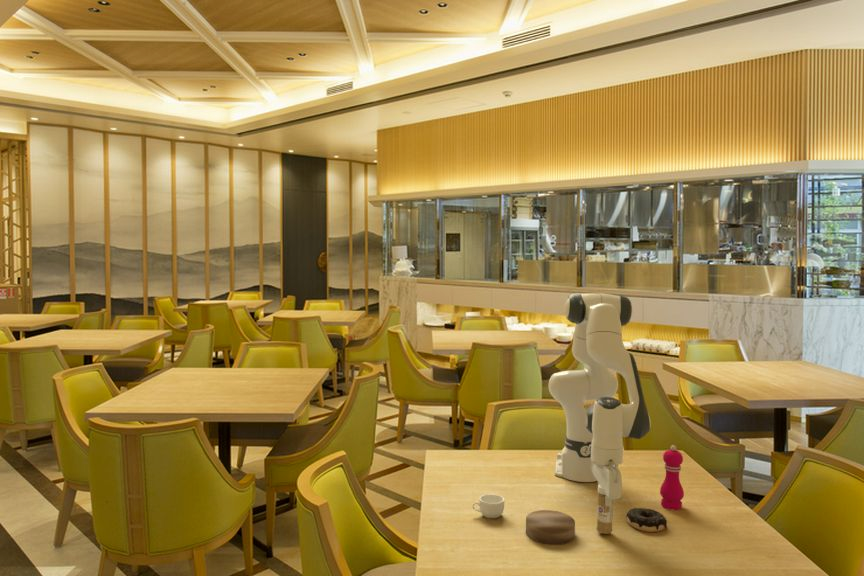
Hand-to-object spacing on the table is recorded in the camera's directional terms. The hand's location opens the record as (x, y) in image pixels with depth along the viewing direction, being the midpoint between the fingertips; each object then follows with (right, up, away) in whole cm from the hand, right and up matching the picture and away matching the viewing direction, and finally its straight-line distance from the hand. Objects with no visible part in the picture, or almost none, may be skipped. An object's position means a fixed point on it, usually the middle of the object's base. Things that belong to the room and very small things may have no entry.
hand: (605, 501), depth 183 cm
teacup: (-33, -9, +12) cm, 36 cm away
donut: (+14, -10, +7) cm, 19 cm away
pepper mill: (+27, -9, +21) cm, 35 cm away
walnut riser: (-16, -9, 0) cm, 19 cm away
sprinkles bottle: (0, -9, +1) cm, 9 cm away
